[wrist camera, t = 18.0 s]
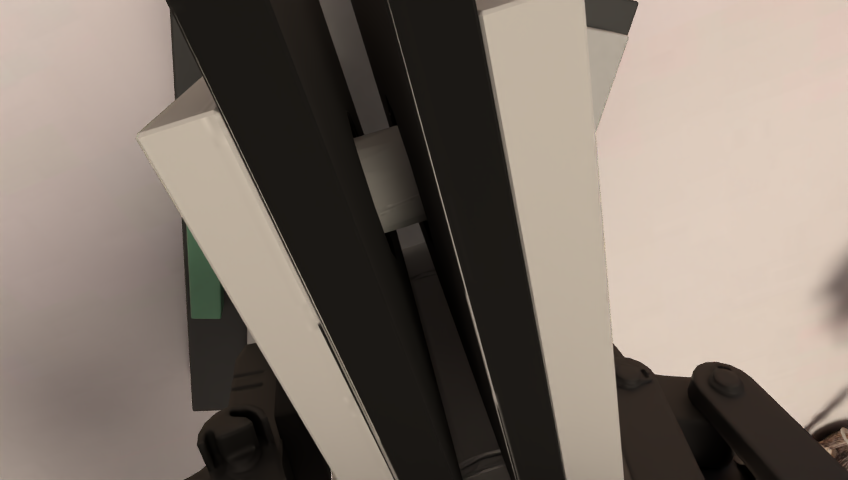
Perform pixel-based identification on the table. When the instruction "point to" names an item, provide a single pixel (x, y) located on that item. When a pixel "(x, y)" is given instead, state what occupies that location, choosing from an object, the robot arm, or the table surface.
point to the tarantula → (837, 446)
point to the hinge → (402, 206)
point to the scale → (205, 296)
